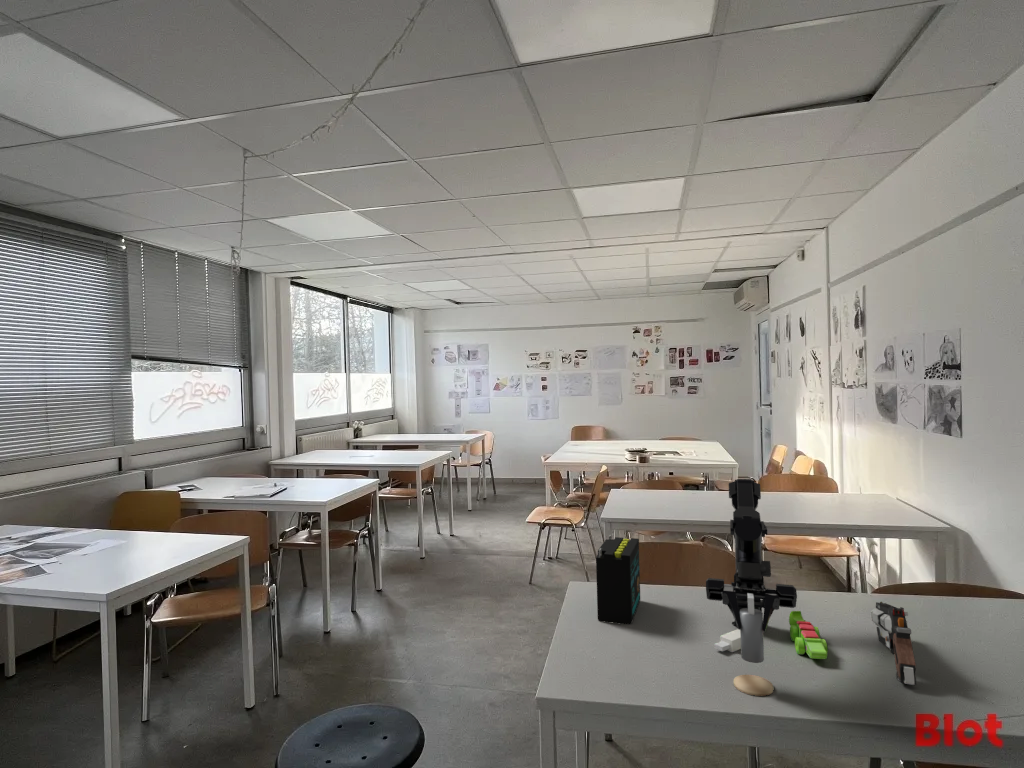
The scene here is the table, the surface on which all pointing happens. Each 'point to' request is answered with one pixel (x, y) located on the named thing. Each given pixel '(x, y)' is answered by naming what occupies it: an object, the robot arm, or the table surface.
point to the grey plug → (751, 632)
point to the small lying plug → (729, 641)
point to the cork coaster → (753, 685)
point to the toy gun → (896, 639)
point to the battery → (618, 580)
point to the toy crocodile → (806, 637)
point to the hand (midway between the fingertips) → (751, 630)
